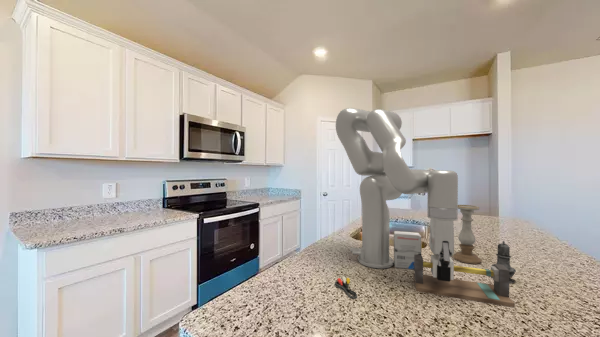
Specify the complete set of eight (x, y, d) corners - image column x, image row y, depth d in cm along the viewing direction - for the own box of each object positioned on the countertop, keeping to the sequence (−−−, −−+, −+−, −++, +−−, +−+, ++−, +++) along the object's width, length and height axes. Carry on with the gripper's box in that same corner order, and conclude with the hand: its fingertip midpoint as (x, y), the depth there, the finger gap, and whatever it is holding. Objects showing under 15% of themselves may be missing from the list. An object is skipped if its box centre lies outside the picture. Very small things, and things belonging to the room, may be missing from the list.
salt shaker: (520, 284, 72) (521, 244, 72) (498, 282, 73) (498, 243, 73) (508, 276, 78) (508, 238, 78) (487, 274, 79) (487, 237, 79)
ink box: (419, 265, 86) (419, 232, 86) (421, 270, 82) (421, 235, 82) (393, 262, 89) (393, 230, 89) (394, 267, 84) (394, 233, 84)
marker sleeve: (433, 277, 69) (433, 259, 69) (430, 271, 73) (430, 254, 73) (453, 280, 67) (453, 261, 67) (450, 273, 71) (450, 256, 71)
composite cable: (359, 300, 64) (359, 290, 64) (341, 300, 63) (341, 291, 63) (348, 282, 74) (348, 274, 74) (332, 283, 73) (332, 274, 73)
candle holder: (455, 254, 98) (456, 203, 98) (482, 259, 92) (483, 206, 92) (450, 259, 92) (450, 205, 92) (479, 266, 86) (479, 208, 86)
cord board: (416, 291, 68) (416, 262, 68) (413, 276, 77) (413, 251, 77) (514, 307, 60) (514, 275, 60) (498, 288, 69) (498, 260, 69)
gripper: (423, 208, 79) (423, 264, 79) (431, 217, 64) (431, 287, 64) (450, 209, 77) (450, 267, 77) (465, 220, 61) (465, 293, 61)
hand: (441, 275), depth 70 cm, fingers closed on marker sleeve, 4 cm apart
